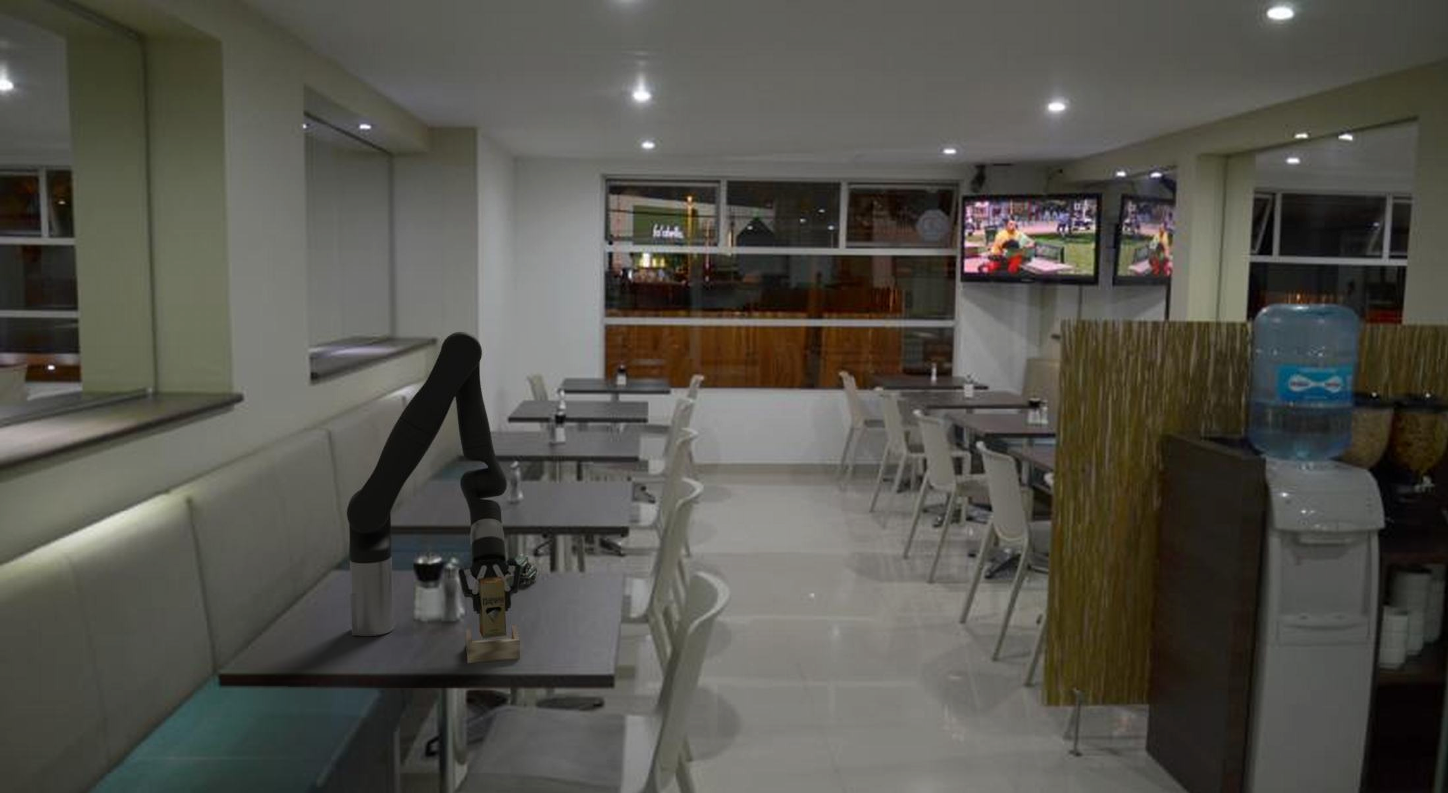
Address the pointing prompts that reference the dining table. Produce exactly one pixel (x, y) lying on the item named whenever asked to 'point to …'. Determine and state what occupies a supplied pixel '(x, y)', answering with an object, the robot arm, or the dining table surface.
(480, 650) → the bay
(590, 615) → the dining table surface
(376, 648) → the dining table surface
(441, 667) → the dining table surface
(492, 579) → the shoe polish box
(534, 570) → the hoverbike
